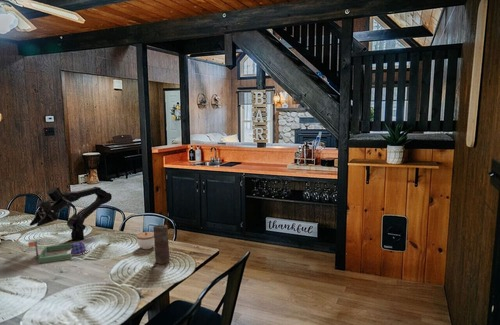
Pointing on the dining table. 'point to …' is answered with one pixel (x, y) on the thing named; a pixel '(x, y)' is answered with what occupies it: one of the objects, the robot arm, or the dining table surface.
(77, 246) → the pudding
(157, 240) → the candle
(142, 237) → the lidded jar
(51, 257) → the frame
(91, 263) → the dining table surface
